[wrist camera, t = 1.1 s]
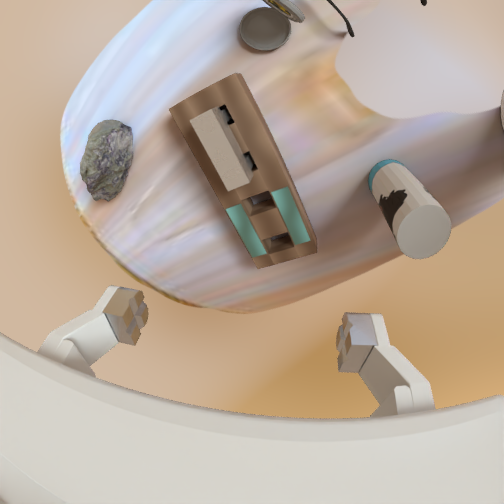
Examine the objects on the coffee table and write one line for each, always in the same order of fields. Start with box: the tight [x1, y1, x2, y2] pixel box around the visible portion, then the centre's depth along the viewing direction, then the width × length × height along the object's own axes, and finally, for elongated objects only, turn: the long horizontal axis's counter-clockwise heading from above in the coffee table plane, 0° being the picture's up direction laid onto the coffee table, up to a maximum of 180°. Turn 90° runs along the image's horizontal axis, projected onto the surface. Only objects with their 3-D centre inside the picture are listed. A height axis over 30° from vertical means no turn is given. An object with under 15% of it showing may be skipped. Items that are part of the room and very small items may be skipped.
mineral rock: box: [80, 120, 133, 201], centre depth 37 cm, size 13×11×10 cm
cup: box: [368, 159, 451, 259], centre depth 31 cm, size 7×7×15 cm
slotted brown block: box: [169, 73, 317, 269], centre depth 38 cm, size 10×28×4 cm, turn 25°
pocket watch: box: [239, 0, 305, 51], centre depth 23 cm, size 8×8×10 cm
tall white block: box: [190, 106, 255, 191], centre depth 34 cm, size 3×10×8 cm, turn 25°
